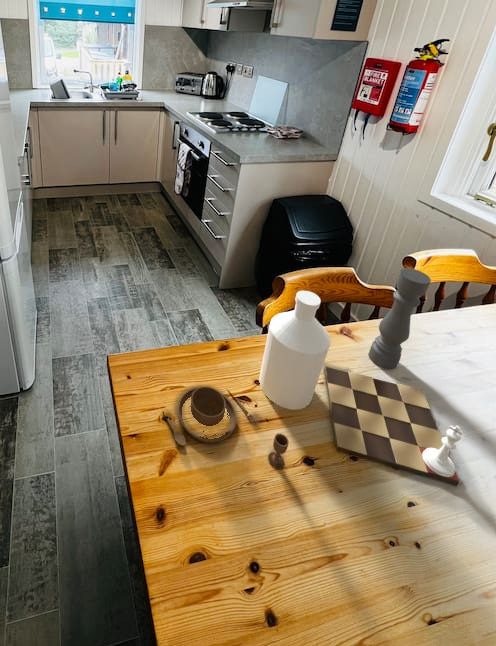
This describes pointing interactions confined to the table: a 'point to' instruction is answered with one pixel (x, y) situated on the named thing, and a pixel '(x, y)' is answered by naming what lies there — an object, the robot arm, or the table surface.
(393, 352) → the candle holder
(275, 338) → the bottle
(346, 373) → the board
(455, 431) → the chess piece
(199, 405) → the place setting
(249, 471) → the table surface
